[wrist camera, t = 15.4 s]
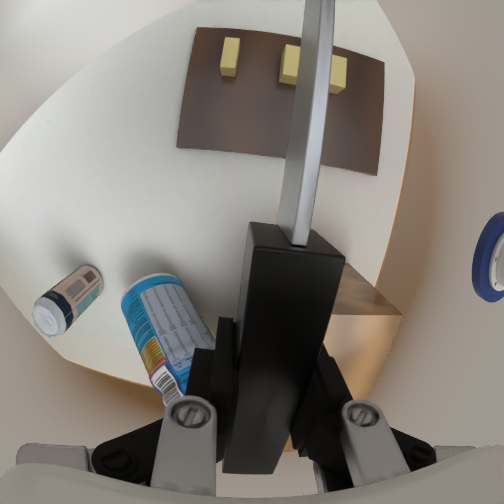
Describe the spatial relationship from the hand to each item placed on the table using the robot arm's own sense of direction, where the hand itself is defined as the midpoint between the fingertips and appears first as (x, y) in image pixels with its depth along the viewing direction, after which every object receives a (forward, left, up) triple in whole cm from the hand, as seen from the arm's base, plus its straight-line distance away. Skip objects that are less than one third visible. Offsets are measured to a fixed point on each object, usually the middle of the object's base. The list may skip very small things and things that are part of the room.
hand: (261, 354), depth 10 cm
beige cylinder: (+21, +9, -24) cm, 33 cm away
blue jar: (+11, +9, -21) cm, 25 cm away
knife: (0, -6, 0) cm, 6 cm away
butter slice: (+4, -20, -23) cm, 30 cm away
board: (-3, -17, -24) cm, 29 cm away
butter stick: (-5, -20, -23) cm, 31 cm away
